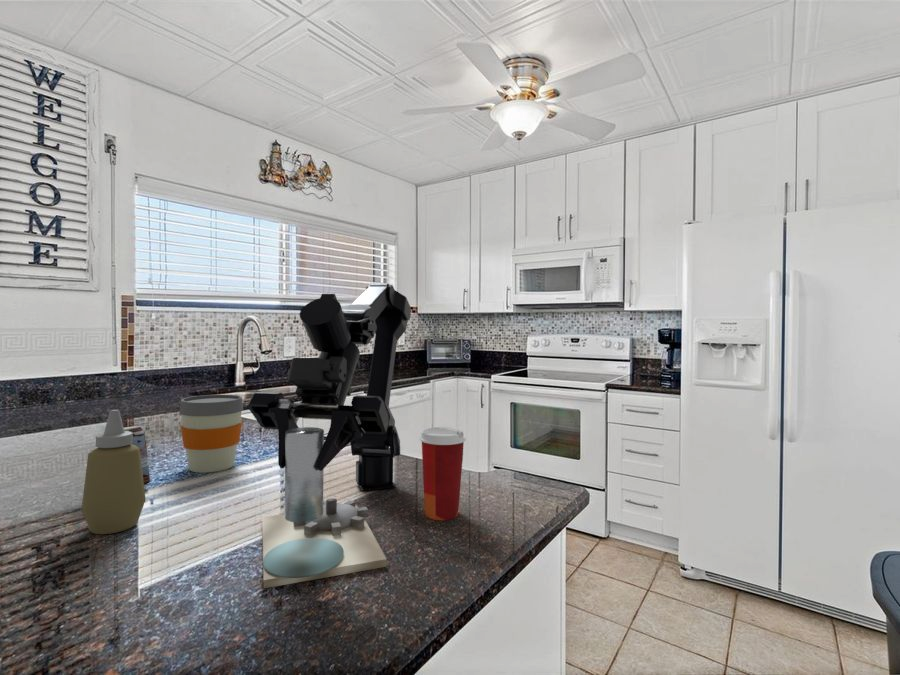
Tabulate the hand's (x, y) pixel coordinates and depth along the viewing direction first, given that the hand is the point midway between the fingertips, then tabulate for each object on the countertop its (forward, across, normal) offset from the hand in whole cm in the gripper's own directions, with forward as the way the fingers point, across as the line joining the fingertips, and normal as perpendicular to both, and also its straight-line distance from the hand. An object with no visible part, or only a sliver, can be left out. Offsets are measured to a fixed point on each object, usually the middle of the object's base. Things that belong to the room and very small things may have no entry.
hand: (299, 467), depth 61 cm
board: (+4, -1, +15) cm, 15 cm away
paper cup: (-6, +15, +25) cm, 30 cm away
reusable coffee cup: (-18, -39, +37) cm, 57 cm away
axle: (+4, 0, +6) cm, 7 cm away
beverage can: (-6, -44, +25) cm, 51 cm away
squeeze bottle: (+4, -33, +15) cm, 37 cm away
